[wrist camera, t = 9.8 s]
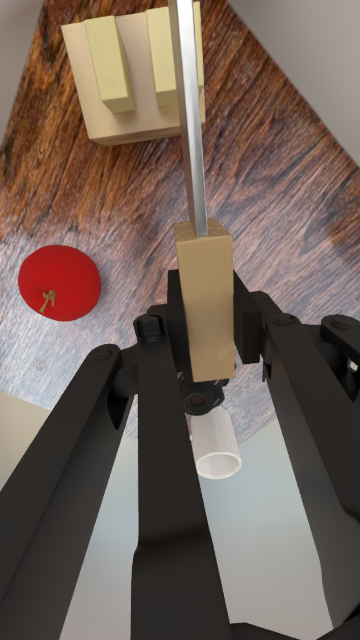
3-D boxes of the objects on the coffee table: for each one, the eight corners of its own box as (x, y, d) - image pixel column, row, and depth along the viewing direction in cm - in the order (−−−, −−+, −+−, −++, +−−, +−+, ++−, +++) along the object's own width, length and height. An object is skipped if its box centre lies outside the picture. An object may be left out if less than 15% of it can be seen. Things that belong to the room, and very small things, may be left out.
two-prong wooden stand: (192, 41, 23) (199, 2, 18) (198, 133, 27) (205, 122, 22) (84, 58, 24) (60, 25, 18) (104, 146, 27) (89, 139, 22)
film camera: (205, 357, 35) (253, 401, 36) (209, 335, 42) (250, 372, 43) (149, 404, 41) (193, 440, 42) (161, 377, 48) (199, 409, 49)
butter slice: (124, 44, 19) (113, 14, 16) (135, 110, 21) (128, 97, 18) (98, 48, 19) (83, 19, 16) (112, 113, 21) (100, 101, 18)
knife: (219, 331, 18) (235, 378, 14) (188, 334, 18) (193, 383, 14) (194, -159, 8) (221, -522, 4) (125, -147, 8) (77, -490, 4)
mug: (168, 411, 49) (168, 460, 41) (227, 401, 48) (240, 449, 40) (176, 435, 53) (177, 485, 45) (231, 427, 52) (243, 475, 44)
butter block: (194, 33, 19) (199, 0, 15) (198, 100, 21) (204, 85, 17) (149, 40, 19) (144, 9, 16) (158, 107, 21) (155, 92, 18)
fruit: (25, 263, 33) (-26, 293, 25) (73, 223, 31) (35, 241, 22) (76, 312, 37) (47, 353, 29) (121, 280, 35) (105, 314, 26)
